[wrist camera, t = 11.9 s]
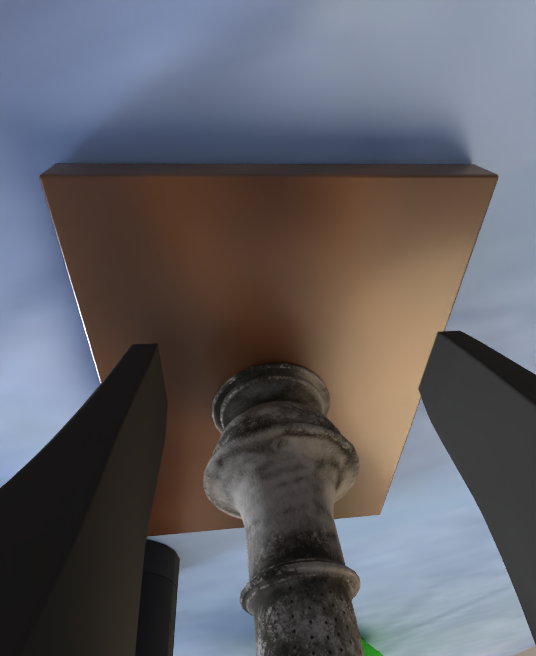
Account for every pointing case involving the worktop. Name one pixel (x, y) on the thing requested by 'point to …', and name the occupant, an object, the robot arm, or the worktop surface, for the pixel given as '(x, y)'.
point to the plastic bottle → (369, 650)
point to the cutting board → (269, 294)
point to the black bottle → (157, 601)
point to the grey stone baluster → (287, 508)
